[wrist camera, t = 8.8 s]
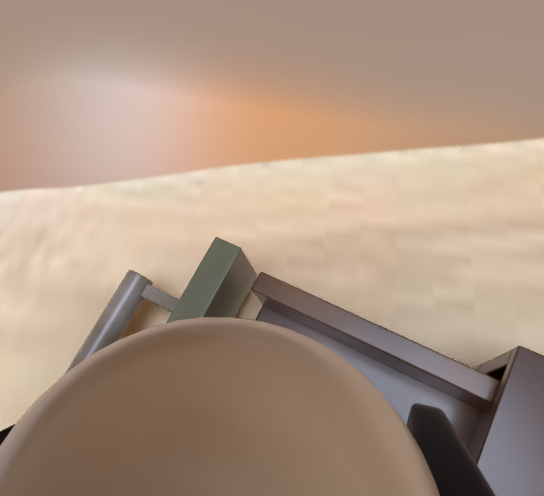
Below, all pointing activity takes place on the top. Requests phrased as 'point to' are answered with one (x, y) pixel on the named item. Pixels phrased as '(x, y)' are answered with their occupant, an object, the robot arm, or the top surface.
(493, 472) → the cabinet
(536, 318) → the top surface
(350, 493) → the doll
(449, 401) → the drawer
